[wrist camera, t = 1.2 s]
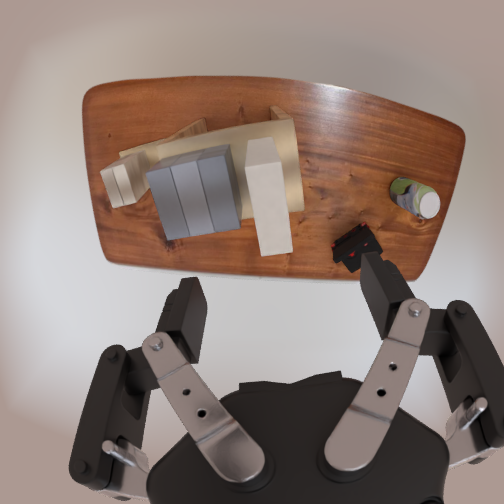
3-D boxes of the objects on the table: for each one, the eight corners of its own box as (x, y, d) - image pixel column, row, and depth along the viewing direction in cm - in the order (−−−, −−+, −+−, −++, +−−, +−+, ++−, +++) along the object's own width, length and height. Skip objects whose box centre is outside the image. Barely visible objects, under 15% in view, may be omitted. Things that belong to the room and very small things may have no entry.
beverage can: (383, 199, 54) (409, 226, 44) (393, 166, 51) (422, 187, 40) (407, 204, 55) (434, 231, 45) (417, 173, 51) (447, 195, 41)
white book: (247, 140, 26) (244, 167, 18) (272, 136, 26) (281, 161, 18) (259, 204, 30) (261, 256, 22) (282, 200, 30) (293, 252, 21)
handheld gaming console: (349, 270, 64) (361, 298, 56) (321, 235, 59) (332, 262, 51) (382, 248, 61) (398, 274, 52) (357, 210, 56) (374, 233, 48)
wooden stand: (198, 119, 47) (137, 157, 22) (276, 105, 45) (301, 124, 21) (210, 169, 52) (169, 254, 28) (284, 157, 51) (313, 233, 26)
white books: (119, 151, 49) (94, 167, 41) (195, 130, 48) (181, 141, 39) (132, 192, 54) (111, 214, 45) (206, 175, 53) (195, 195, 44)
